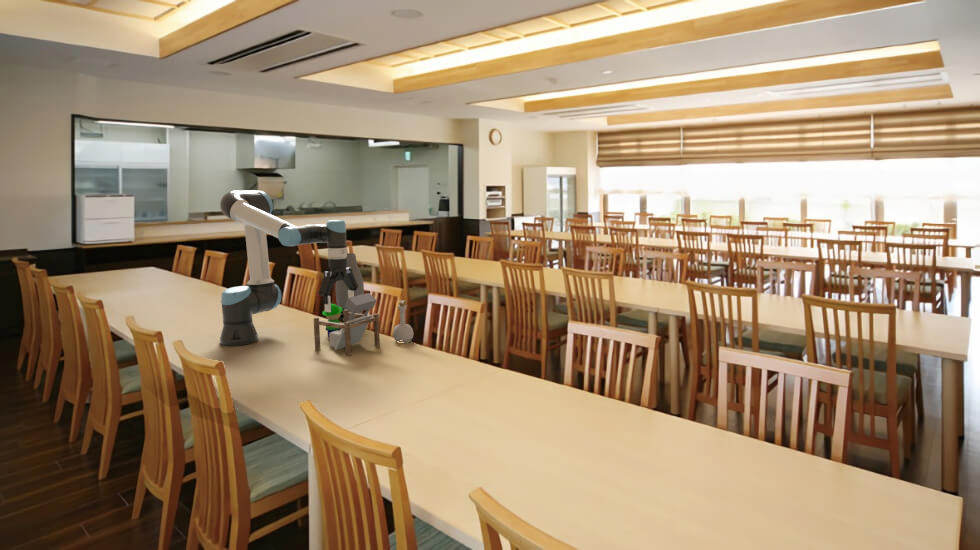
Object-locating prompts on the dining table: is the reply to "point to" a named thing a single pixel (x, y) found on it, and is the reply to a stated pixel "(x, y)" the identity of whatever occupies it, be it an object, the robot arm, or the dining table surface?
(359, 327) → the grey faceted block
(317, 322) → the frame
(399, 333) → the potion bottle
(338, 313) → the toy
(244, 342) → the robot arm
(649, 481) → the dining table surface
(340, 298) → the vase
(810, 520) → the dining table surface
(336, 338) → the stone
